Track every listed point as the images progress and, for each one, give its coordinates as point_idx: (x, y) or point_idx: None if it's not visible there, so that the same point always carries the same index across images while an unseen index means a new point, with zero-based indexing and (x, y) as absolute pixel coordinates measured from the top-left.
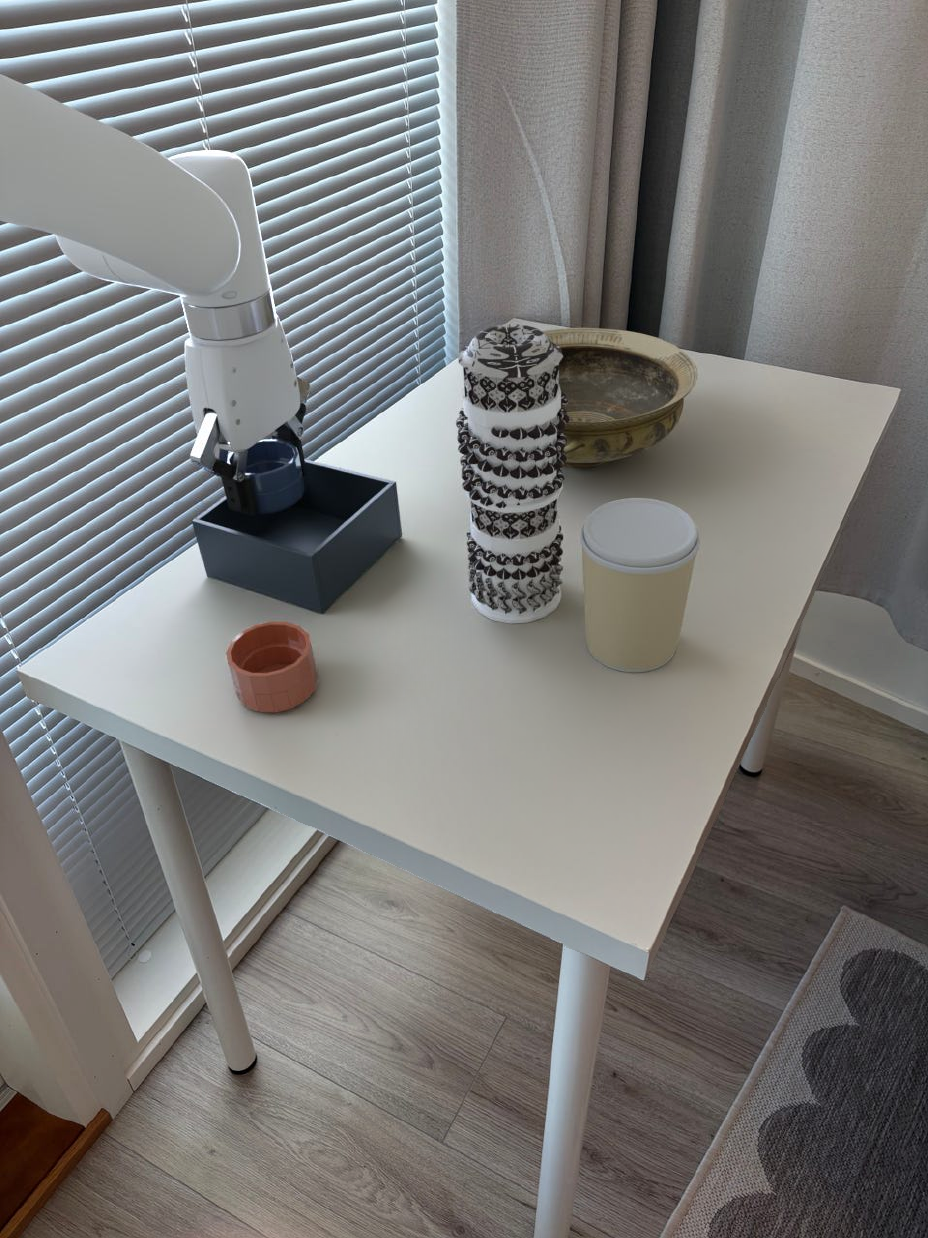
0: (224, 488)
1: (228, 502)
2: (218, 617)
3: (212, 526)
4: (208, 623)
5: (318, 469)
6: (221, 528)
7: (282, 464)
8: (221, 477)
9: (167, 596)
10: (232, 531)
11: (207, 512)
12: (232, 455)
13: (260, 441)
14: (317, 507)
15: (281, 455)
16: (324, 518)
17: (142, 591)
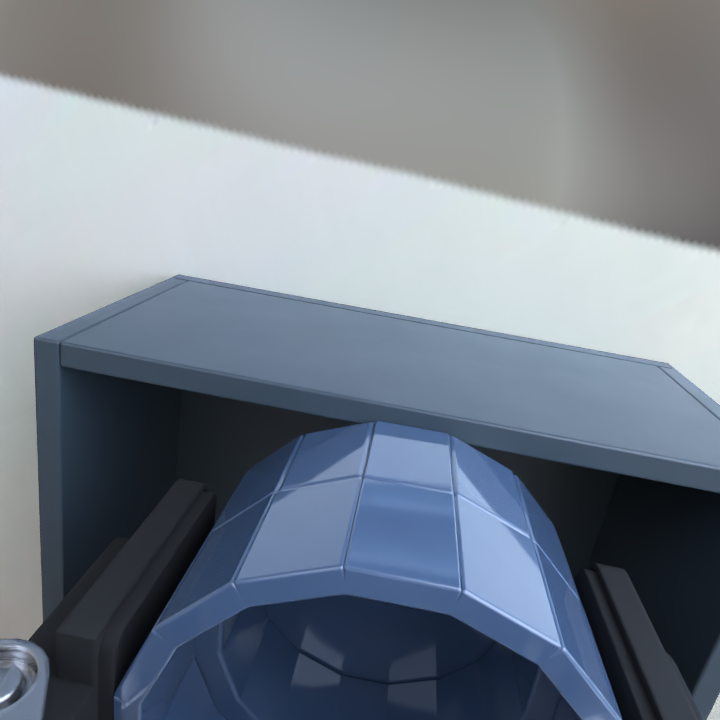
0: (55, 608)
1: (112, 545)
2: (35, 411)
3: (41, 458)
4: (3, 397)
5: (682, 670)
6: (44, 505)
7: (527, 688)
8: (76, 606)
9: (41, 201)
10: (47, 557)
11: (127, 375)
12: (326, 594)
13: (581, 715)
14: (622, 501)
15: (569, 718)
16: (580, 520)
17: (22, 90)
